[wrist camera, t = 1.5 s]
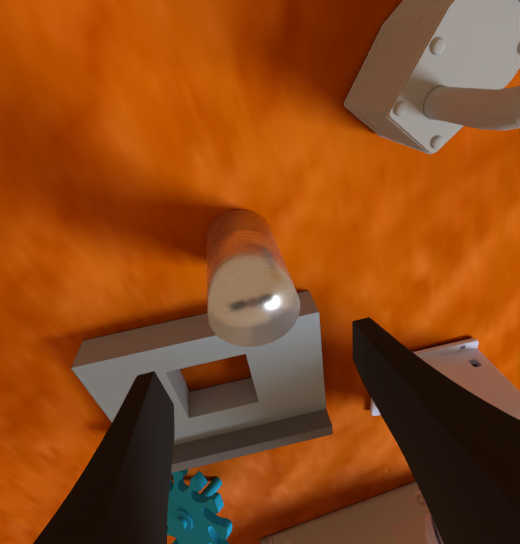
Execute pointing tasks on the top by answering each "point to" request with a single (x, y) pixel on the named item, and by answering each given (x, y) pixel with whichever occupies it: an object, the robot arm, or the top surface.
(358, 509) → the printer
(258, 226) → the cylindrical peg
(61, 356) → the top surface
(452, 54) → the padlock
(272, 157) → the top surface
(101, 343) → the plate
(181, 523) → the gear
